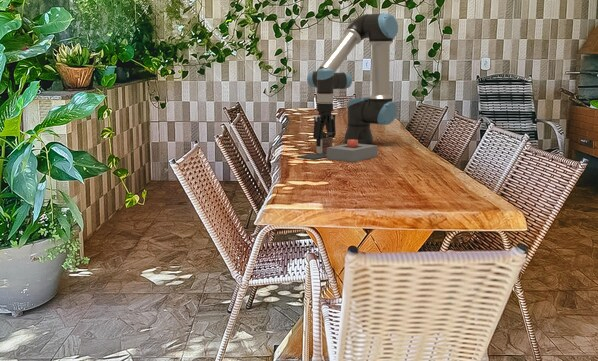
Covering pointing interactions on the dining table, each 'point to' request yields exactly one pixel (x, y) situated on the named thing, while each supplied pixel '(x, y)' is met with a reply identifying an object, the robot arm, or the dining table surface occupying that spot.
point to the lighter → (326, 142)
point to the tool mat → (313, 156)
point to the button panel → (352, 152)
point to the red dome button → (352, 143)
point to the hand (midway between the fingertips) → (324, 152)
